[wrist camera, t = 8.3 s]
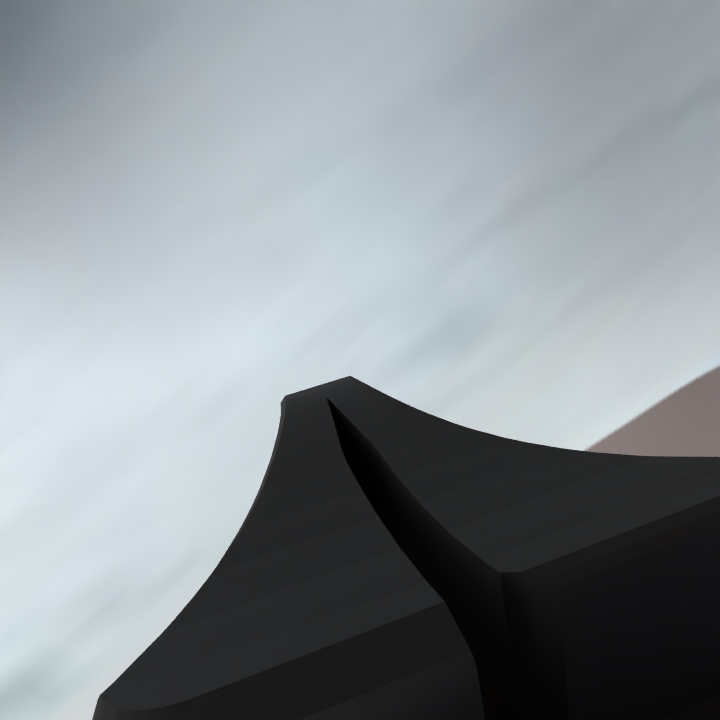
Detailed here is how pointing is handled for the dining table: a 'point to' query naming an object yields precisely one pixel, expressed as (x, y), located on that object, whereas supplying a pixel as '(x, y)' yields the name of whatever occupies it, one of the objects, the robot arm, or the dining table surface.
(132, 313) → the dining table surface
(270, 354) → the dining table surface
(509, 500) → the robot arm
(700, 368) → the dining table surface
